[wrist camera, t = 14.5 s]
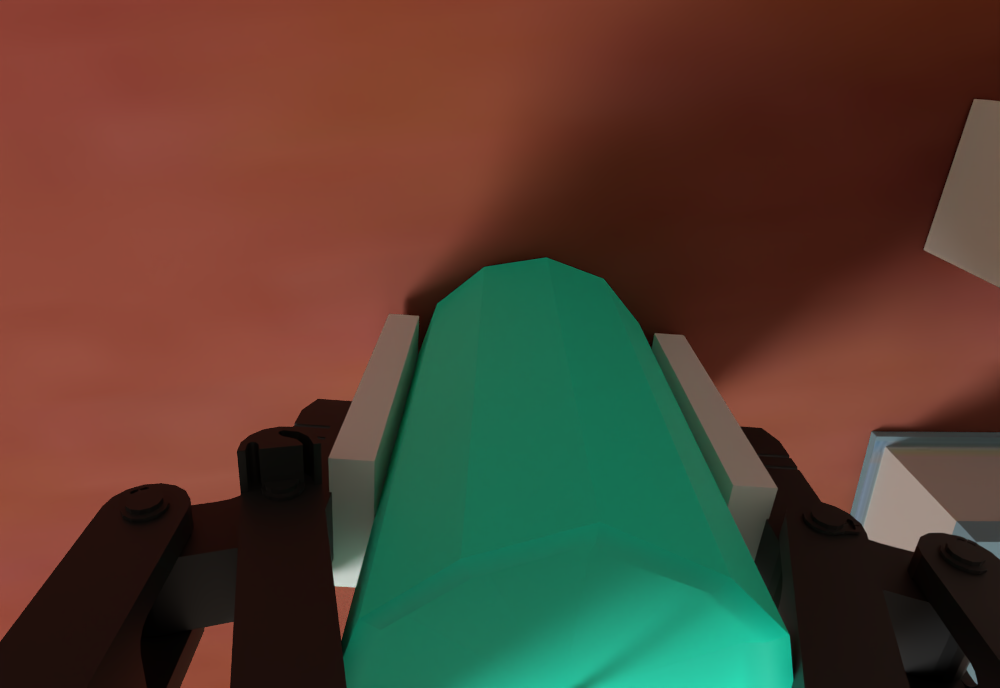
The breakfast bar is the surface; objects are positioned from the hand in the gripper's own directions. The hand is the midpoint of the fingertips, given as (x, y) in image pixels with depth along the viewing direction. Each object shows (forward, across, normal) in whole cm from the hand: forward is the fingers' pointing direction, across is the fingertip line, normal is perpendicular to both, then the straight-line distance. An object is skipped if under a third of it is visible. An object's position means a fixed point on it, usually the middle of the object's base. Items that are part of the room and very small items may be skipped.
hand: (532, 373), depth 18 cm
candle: (+1, 0, 0) cm, 1 cm away
